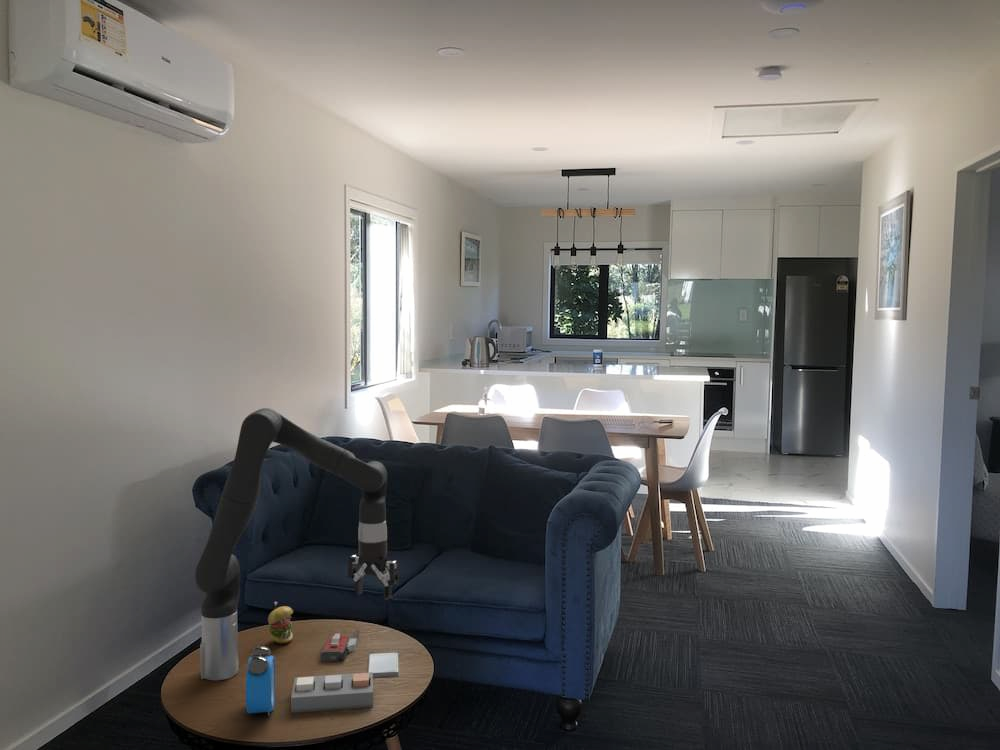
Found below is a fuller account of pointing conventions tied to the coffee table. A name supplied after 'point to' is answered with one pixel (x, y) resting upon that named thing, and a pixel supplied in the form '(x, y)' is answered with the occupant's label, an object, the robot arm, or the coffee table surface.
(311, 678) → the key near ivory
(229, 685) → the coffee table surface
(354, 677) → the key far terracotta
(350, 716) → the coffee table surface
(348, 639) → the walkie-talkie
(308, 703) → the keypad
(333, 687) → the key mid grey
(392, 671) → the hard drive
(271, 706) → the alarm clock
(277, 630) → the hamburger
